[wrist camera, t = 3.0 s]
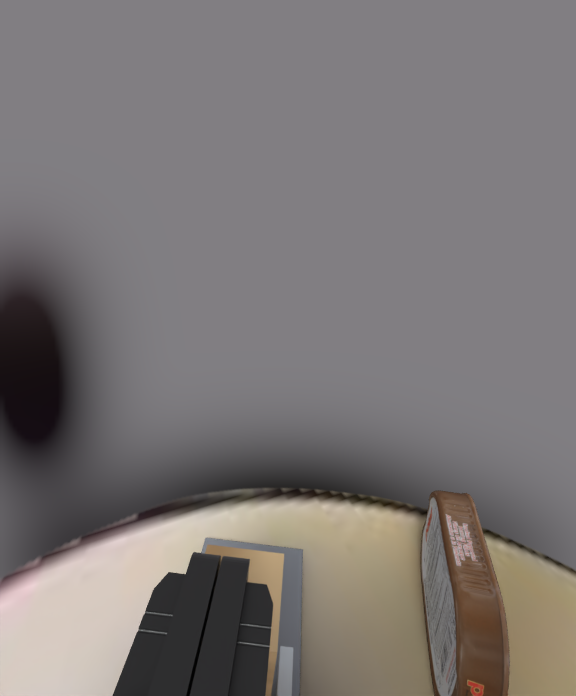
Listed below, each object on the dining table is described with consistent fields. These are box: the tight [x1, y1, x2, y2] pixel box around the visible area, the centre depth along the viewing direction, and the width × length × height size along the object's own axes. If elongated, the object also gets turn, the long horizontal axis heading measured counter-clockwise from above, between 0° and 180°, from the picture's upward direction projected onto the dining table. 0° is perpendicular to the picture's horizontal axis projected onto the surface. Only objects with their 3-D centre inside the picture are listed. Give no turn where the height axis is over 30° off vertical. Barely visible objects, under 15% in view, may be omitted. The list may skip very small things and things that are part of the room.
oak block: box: [205, 544, 284, 696], centre depth 22 cm, size 4×5×10 cm
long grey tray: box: [201, 538, 303, 696], centre depth 24 cm, size 8×23×2 cm, turn 177°
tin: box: [421, 491, 510, 696], centre depth 29 cm, size 15×3×8 cm, turn 169°
